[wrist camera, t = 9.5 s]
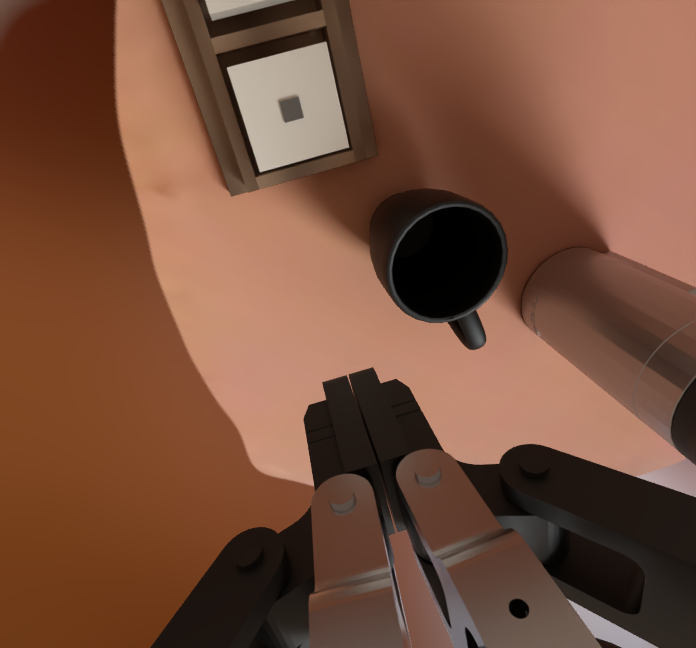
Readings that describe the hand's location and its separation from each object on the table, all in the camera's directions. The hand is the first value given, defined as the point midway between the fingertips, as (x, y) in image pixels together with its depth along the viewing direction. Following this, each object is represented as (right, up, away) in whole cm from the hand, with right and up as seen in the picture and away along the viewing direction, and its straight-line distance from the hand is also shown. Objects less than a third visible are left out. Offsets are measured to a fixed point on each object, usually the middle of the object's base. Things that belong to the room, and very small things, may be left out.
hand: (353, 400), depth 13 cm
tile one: (-4, +16, +17) cm, 24 cm away
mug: (+5, +9, +25) cm, 27 cm away
